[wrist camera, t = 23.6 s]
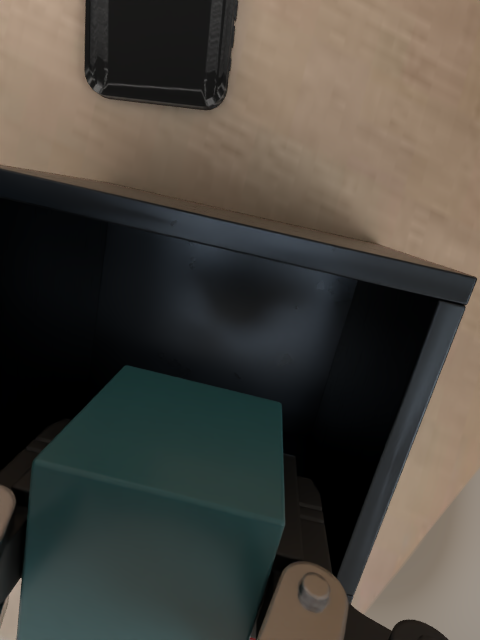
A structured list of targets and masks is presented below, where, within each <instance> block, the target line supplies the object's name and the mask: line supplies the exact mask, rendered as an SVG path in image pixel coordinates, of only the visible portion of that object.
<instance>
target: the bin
mask: <svg viewBox="0 0 480 640" xmlns="http://www.w3.org/2000/svg"><path fill="white" fill-rule="evenodd" d="M476 281H477V278H476V277H474V276H471V275H468V274H465V273H462V272H459V271H456V270H453V269H450V268H447V267H444V266H441V265H438V264H435V263H432V262H430V261H427V260H424V259H421V258H418V257H415V256H412V255H409V254H406V253H403V252H400V251H397V250H394V249H391V248H388V247H385V246H382V245H378V244H374V243H370V242H365V241H361V240H357V239H352V238H348V237H343V236H339V235H335V234H330V233H326V232H322V231H317V230H313V229H308V228H304V227H300V226H295V225H291V224H287V223H282V222H278V221H273V220H269V219H265V218H260V217H256V216H252V215H247V214H243V213H238V212H234V211H230V210H225V209H221V208H216V207H212V206H208V205H203V204H199V203H195V202H190V201H186V200H181V199H177V198H173V197H168V196H164V195H160V194H155V193H151V192H146V191H142V190H138V189H133V188H129V187H125V186H120V185H116V184H111V183H107V182H102V181H96V180H90V179H83V178H77V177H71V176H65V175H59V174H53V173H47V172H41V171H35V170H29V169H22V168H16V167H10V166H4V165H0V471H1V470H2V469H3V468H4V467H5V466H6V465H7V464H8V463H9V462H11V461H12V460H13V459H14V458H15V457H16V456H17V455H18V454H19V453H20V452H21V451H22V450H23V449H26V446H27V445H28V444H29V443H30V442H32V441H33V440H35V439H36V437H37V436H38V435H39V434H40V433H41V432H42V431H43V430H44V429H45V428H46V427H47V426H49V425H51V424H53V423H56V422H58V421H60V420H62V419H64V418H66V419H70V420H72V419H73V418H74V417H75V416H76V415H77V414H78V413H79V412H80V411H81V410H82V409H83V408H84V407H85V406H86V405H87V404H88V403H89V402H90V401H91V400H92V399H93V398H94V397H95V396H96V395H97V394H98V393H99V392H100V390H101V389H102V388H103V387H104V386H105V385H106V384H107V383H108V382H109V381H110V380H111V379H112V378H113V377H114V376H115V375H116V374H117V373H118V372H119V371H120V370H121V369H122V368H123V367H124V366H126V365H128V366H132V367H136V368H140V369H145V370H149V371H153V372H157V373H161V374H165V375H169V376H173V377H178V378H182V379H186V380H190V381H194V382H198V383H202V384H207V385H211V386H215V387H219V388H223V389H227V390H231V391H235V392H240V393H244V394H248V395H252V396H256V397H260V398H264V399H269V400H273V401H277V402H280V403H281V404H282V430H283V453H284V454H289V455H293V456H295V457H296V468H297V476H301V477H305V478H309V479H311V480H312V482H313V483H314V485H315V487H316V488H317V490H318V491H319V493H320V497H321V504H322V511H323V517H324V524H325V529H326V536H327V542H328V549H329V555H330V562H331V568H332V574H333V575H334V576H335V577H336V578H337V580H338V581H339V582H340V583H341V585H342V586H343V588H344V590H345V592H346V595H347V598H348V602H349V603H350V604H351V602H352V599H353V595H354V593H355V591H356V588H357V586H358V583H359V581H360V578H361V575H362V573H363V570H364V568H365V565H366V563H367V560H368V557H369V555H370V552H371V550H372V547H373V545H374V542H375V539H376V537H377V534H378V532H379V529H380V527H381V524H382V521H383V519H384V516H385V514H386V511H387V509H388V506H389V503H390V501H391V498H392V496H393V493H394V491H395V488H396V485H397V483H398V480H399V478H400V475H401V473H402V470H403V468H404V465H405V462H406V460H407V457H408V455H409V452H410V450H411V447H412V444H413V442H414V439H415V437H416V434H417V432H418V429H419V426H420V424H421V421H422V419H423V416H424V414H425V411H426V408H427V406H428V403H429V401H430V398H431V396H432V393H433V390H434V388H435V385H436V383H437V380H438V378H439V375H440V372H441V370H442V367H443V365H444V362H445V360H446V357H447V354H448V352H449V349H450V347H451V344H452V342H453V339H454V336H455V334H456V331H457V329H458V326H459V324H460V321H461V318H462V316H463V313H464V311H465V305H467V304H468V301H469V299H470V296H471V293H472V291H473V288H474V286H475V283H476Z"/></svg>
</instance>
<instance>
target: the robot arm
mask: <svg viewBox="0 0 480 640" xmlns="http://www.w3.org/2000/svg"><path fill="white" fill-rule="evenodd" d="M70 421H71V420H70V419H66V418H64V419H62V420H60V421H58V422H56V423H53V424H51V425H49V426H47V427H46V428H45V429H44V430H43V431H42V432H41V433H40V434H39V435H38V436H37V437H36V439H35V440H33V441H32V442H30V443H29V444H28V445H27V446H26V449H23V450H22V451H21V452H20V453H19V454H18V455H17V456H16V457H15V458H14V459H13V460H12V461H11V462H9V463H8V464H7V465H6V466H5V467H4V468H3V469H2V470H1V471H0V627H1V624H2V621H3V618H4V615H5V612H6V609H7V605H8V600H9V594H10V592H11V591H12V589H13V588H14V586H15V585H16V583H17V582H18V581H19V579H20V578H22V572H23V560H24V549H25V537H26V526H27V514H28V503H29V491H30V479H31V468H32V462H33V460H34V458H35V457H36V456H37V455H38V454H39V453H40V452H41V451H42V450H43V449H44V448H45V447H46V446H47V445H48V444H49V443H50V442H51V441H52V440H53V439H54V438H55V437H56V436H57V435H58V434H59V433H60V432H61V431H62V430H63V429H64V428H65V427H66V425H67V424H68V423H69V422H70ZM283 464H284V498H285V527H284V530H283V533H282V537H281V540H280V543H279V546H278V550H277V553H276V556H275V559H274V562H273V566H272V569H271V572H270V575H269V579H268V582H267V585H266V588H265V591H264V595H263V598H262V601H261V604H260V608H259V611H258V614H257V617H256V620H255V624H254V627H253V630H252V633H251V638H255V639H256V640H448V639H447V638H446V637H445V636H444V635H443V634H441V633H440V632H439V631H438V630H436V629H434V628H433V627H431V626H429V625H427V624H425V623H423V622H420V621H416V620H403V621H400V622H398V623H397V624H396V625H395V626H394V628H393V630H392V631H391V630H389V629H387V628H386V627H384V626H382V625H380V624H379V623H377V622H375V621H373V620H372V619H370V618H368V617H366V616H365V615H363V614H362V613H360V612H359V611H358V610H356V609H355V608H354V607H353V606H352V605H351V604H350V603H349V602H348V598H347V595H346V592H345V590H344V588H343V586H342V585H341V583H340V582H339V581H338V580H337V578H336V577H335V576H334V575H333V574H332V568H331V562H330V555H329V549H328V542H327V536H326V529H325V524H324V517H323V511H322V504H321V497H320V493H319V491H318V490H317V488H316V487H315V485H314V483H313V482H312V480H311V479H309V478H305V477H301V476H297V468H296V457H295V456H293V455H289V454H284V453H283Z"/></svg>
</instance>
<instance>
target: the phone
mask: <svg viewBox="0 0 480 640" xmlns="http://www.w3.org/2000/svg"><path fill="white" fill-rule="evenodd" d="M237 6H238V0H86V15H85V77H86V79H87V82H88V84H89V85H90V87H91V88H92V89H93V90H94V91H96V92H97V93H98V94H100V95H101V96H103V97H105V98H109V99H115V100H123V101H132V102H140V103H149V104H157V105H166V106H174V107H183V108H191V109H200V110H211V109H214V108H216V107H217V106H219V105H220V104H221V103H222V101H223V100H224V98H225V96H226V92H227V87H228V77H229V71H230V67H231V48H232V47H233V41H234V32H235V26H234V20H235V21H236V16H237Z"/></svg>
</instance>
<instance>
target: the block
mask: <svg viewBox="0 0 480 640" xmlns="http://www.w3.org/2000/svg"><path fill="white" fill-rule="evenodd" d="M284 527H285V498H284V464H283V430H282V404H281V403H280V402H277V401H273V400H269V399H264V398H260V397H256V396H252V395H248V394H244V393H240V392H235V391H231V390H227V389H223V388H219V387H215V386H211V385H207V384H202V383H198V382H194V381H190V380H186V379H182V378H178V377H173V376H169V375H165V374H161V373H157V372H153V371H149V370H145V369H140V368H136V367H132V366H128V365H126V366H124V367H123V368H122V369H121V370H120V371H119V372H118V373H117V374H116V375H115V376H114V377H113V378H112V379H111V380H110V381H109V382H108V383H107V384H106V385H105V386H104V387H103V388H102V389H101V390H100V392H99V393H98V394H97V395H96V396H95V397H94V398H93V399H92V400H91V401H90V402H89V403H88V404H87V405H86V406H85V407H84V408H83V409H82V410H81V411H80V412H79V413H78V414H77V415H76V416H75V417H74V418H73V419H72V420H71V421H70V422H69V423H68V424H67V425H66V427H65V428H64V429H63V430H62V431H61V432H60V433H59V434H58V435H57V436H56V437H55V438H54V439H53V440H52V441H51V442H50V443H49V444H48V445H47V446H46V447H45V448H44V449H43V450H42V451H41V452H40V453H39V454H38V455H37V456H36V457H35V458H34V460H33V462H32V468H31V479H30V491H29V503H28V514H27V526H26V537H25V549H24V560H23V572H22V583H21V595H20V606H19V618H18V629H17V640H250V637H251V633H252V630H253V627H254V624H255V620H256V617H257V614H258V611H259V608H260V604H261V601H262V598H263V595H264V591H265V588H266V585H267V582H268V579H269V575H270V572H271V569H272V566H273V562H274V559H275V556H276V553H277V550H278V546H279V543H280V540H281V537H282V533H283V530H284Z"/></svg>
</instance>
